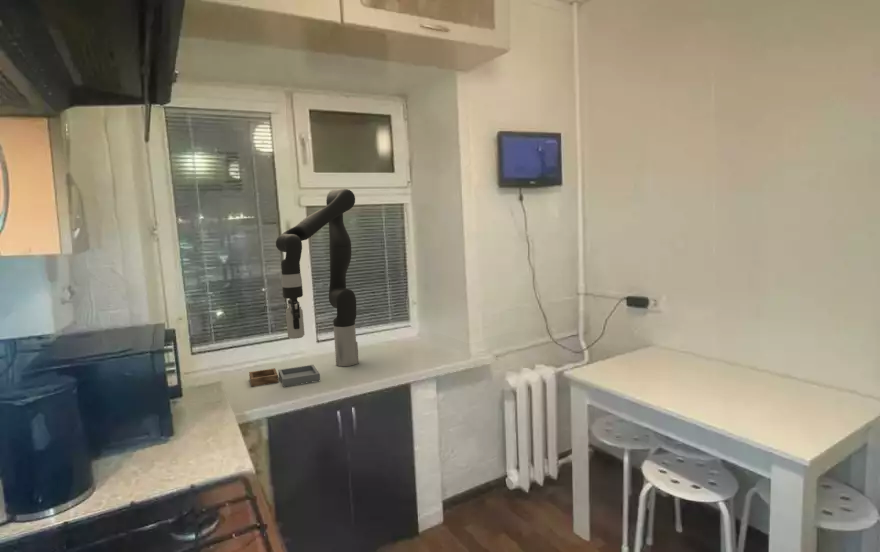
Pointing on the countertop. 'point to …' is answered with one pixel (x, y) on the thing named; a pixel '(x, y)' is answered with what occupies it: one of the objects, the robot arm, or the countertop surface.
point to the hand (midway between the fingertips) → (295, 327)
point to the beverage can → (290, 328)
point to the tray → (298, 375)
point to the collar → (263, 377)
